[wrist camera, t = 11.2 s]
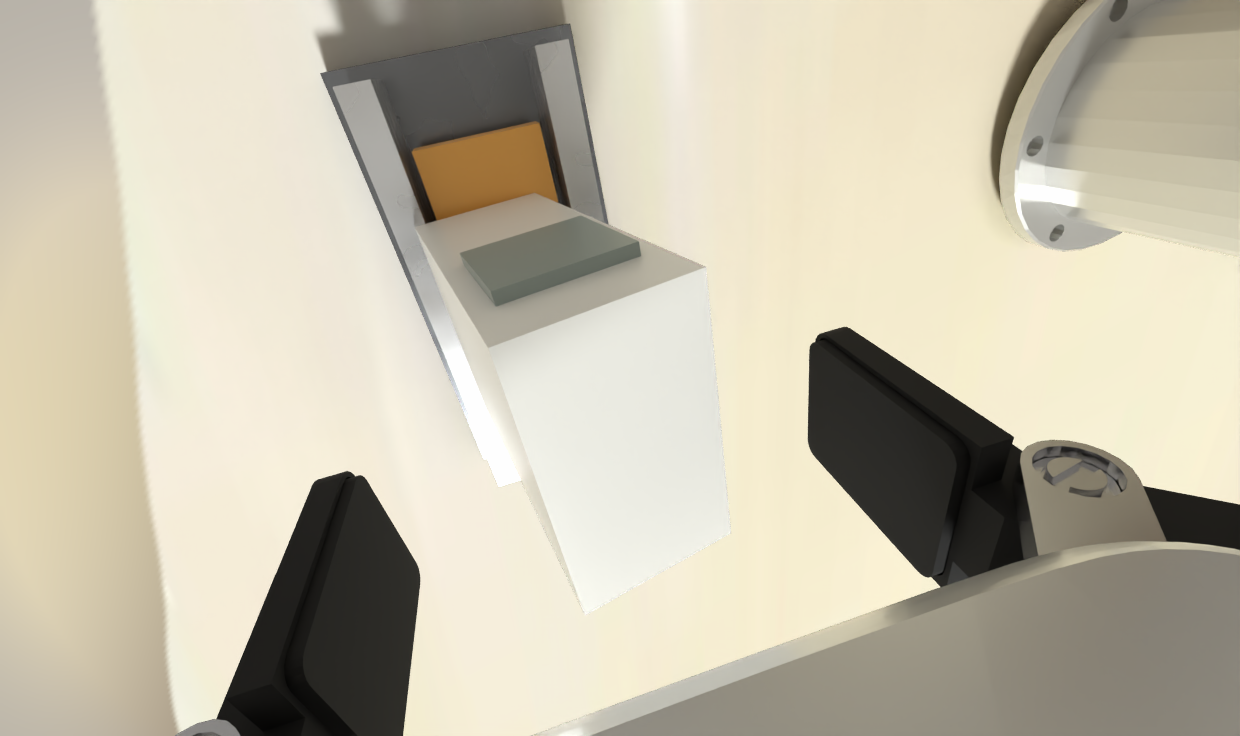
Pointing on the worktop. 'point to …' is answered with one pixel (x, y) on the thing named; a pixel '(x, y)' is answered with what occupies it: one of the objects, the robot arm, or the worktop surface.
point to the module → (591, 383)
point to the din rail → (455, 108)
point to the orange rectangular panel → (485, 169)
